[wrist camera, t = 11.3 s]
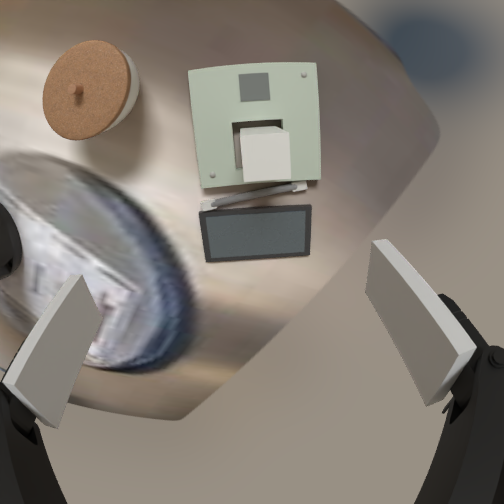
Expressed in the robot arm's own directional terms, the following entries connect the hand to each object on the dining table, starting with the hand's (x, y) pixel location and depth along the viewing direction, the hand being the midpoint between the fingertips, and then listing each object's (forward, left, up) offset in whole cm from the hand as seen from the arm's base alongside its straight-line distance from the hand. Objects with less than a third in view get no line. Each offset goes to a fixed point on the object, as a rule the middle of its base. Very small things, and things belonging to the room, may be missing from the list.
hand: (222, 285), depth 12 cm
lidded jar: (-14, +12, -24) cm, 30 cm away
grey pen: (+2, -3, -24) cm, 24 cm away
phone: (+2, -9, -24) cm, 26 cm away
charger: (+3, +3, -24) cm, 24 cm away
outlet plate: (+3, +5, -24) cm, 24 cm away
